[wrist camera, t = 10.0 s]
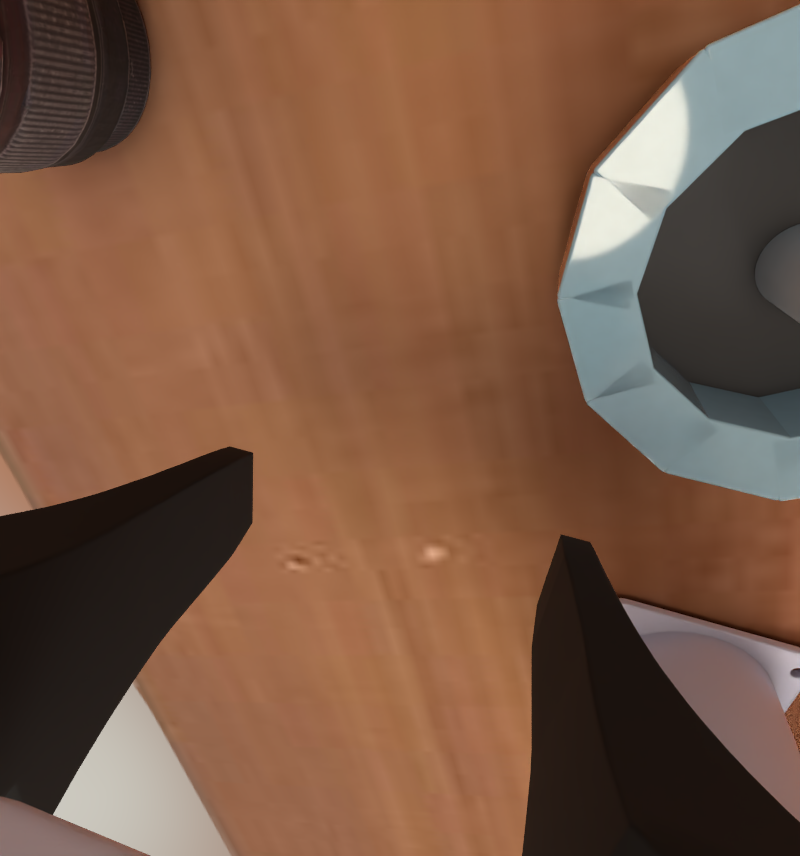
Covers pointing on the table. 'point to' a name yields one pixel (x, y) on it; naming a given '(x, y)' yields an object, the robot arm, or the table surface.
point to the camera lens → (69, 79)
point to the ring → (630, 252)
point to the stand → (732, 268)
